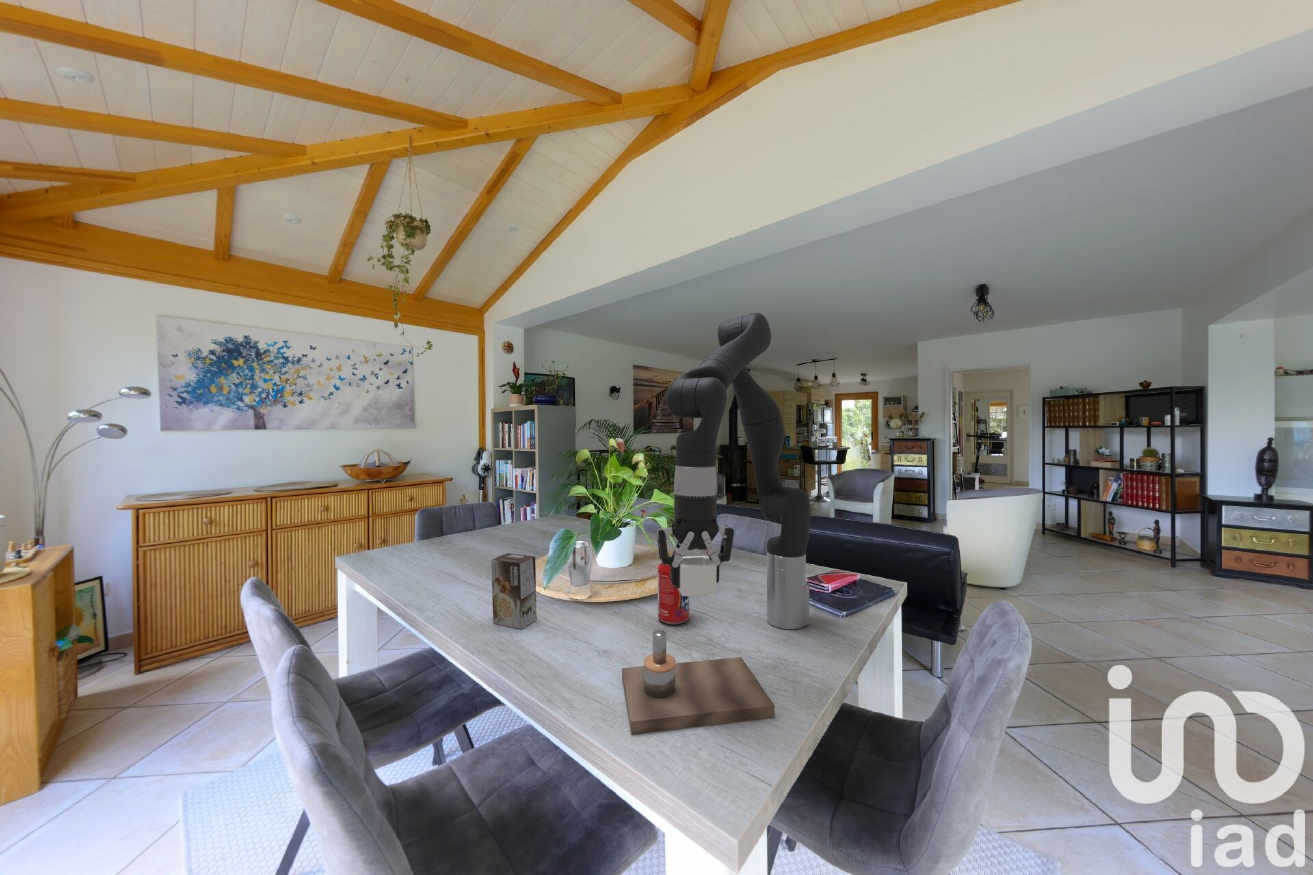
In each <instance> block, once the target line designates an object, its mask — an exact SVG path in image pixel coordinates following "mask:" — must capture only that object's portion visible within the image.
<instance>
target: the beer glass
mask: <svg viewBox="0 0 1313 875" xmlns="http://www.w3.org/2000/svg"><path fill="white" fill-rule="evenodd" d="M592 548H593V547H592V542H590V541H587V540H576V546H575V547H574V549H573V552H572V555H571V556H570V558H569V560H568V561H567V569H568V575H569V580H570V581H569V582H570V586H571V585H572V586H574V587H582V586H586V585H588V584H589V582H591V581H590V580H591V574H592V567H593V566H592V565H593V550H592Z"/></svg>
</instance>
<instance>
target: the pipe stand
mask: <svg viewBox="0 0 1313 875" xmlns="http://www.w3.org/2000/svg"><path fill="white" fill-rule="evenodd" d="M621 679H622V680H621V681H622V687H623V692H624V698H625V700H624V701H625V705H626V706H625V707H626V711H627V712H626V713H627V716H628V717H627V718H628V722H629V730H630V734H631V735H633V734H634V735H635V734H642V733H643V734H644V733H652V732H659V731H669V730H677V729H686V728H693V727H701V726H712V725H719V724H728V723H729V724H730V723H736V722H737V723H738V722H747V721H755V720H762V719H764V720H765V719H770V718H772V719H773V718H776V717H775V715H776V714H775V708H776V707H775V704H774V702H773V701H772V699H771V697H769V695H768V693H767V692H766V691H765V689H764V688H763V686H762V685H761V683H760V682H759V680H758V679H757V678H756V676H755V674H753V672H752V670H751V669H750V667H749V666H748V665H747V663H746V662H745V660H744V659H743V657H742V656H737V657H728V658H717V659H716V658H715V659H705V660H697V661H695V660H694V661H686V662H684V661H683V662H676V658H675V657H674V656H672V655H671V654H668V653H667V631H665V630H662V629H657V630H656V629H655V630H654V631H653V632H652V654H649V655H647V656H645V658H643V666H642V665H640V666H630V667H622V668H621Z"/></svg>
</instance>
